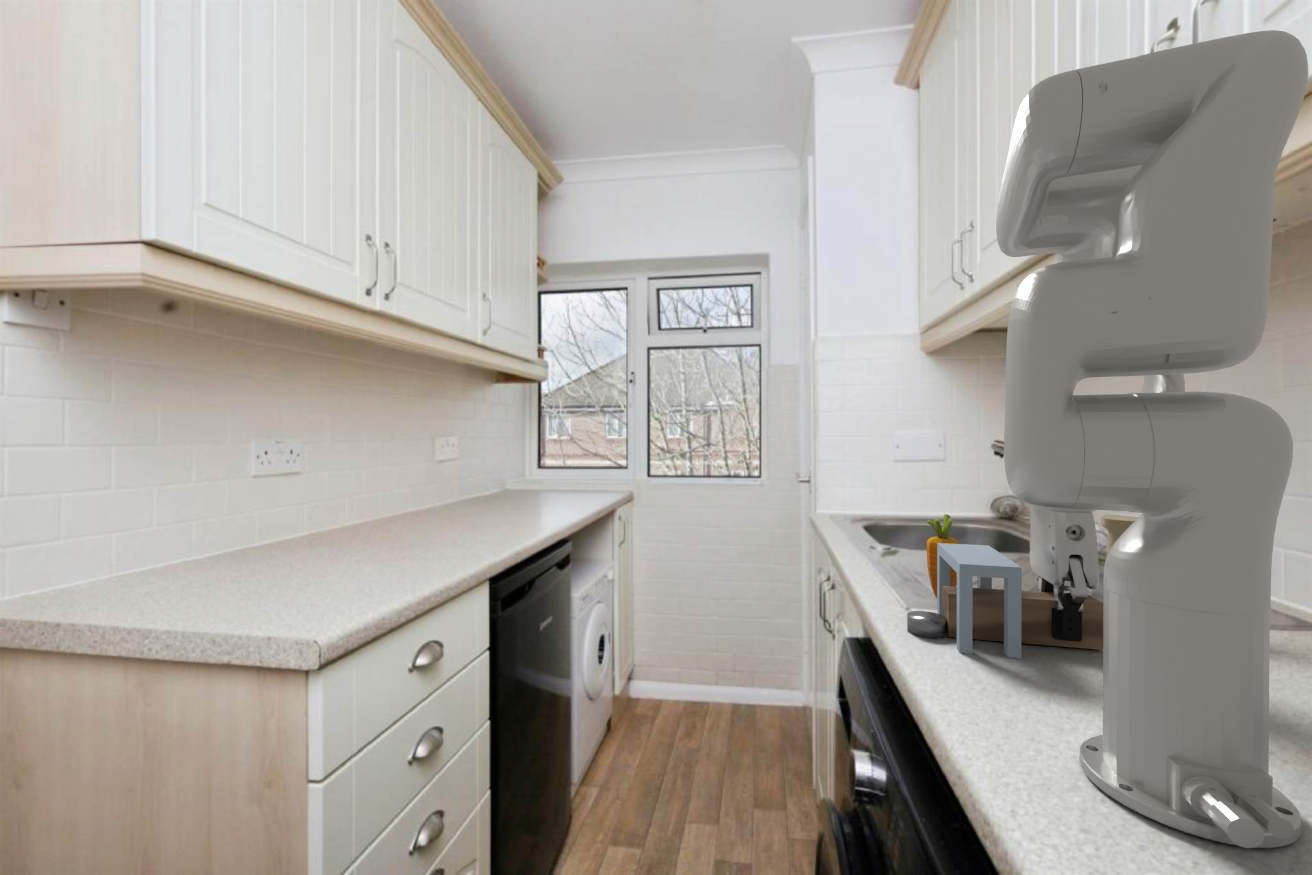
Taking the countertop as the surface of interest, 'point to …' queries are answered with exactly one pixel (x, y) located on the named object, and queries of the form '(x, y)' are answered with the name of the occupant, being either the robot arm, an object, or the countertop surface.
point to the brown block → (1022, 617)
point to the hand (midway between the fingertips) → (1059, 632)
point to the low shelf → (985, 567)
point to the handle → (1116, 526)
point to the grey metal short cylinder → (926, 624)
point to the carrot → (932, 551)
